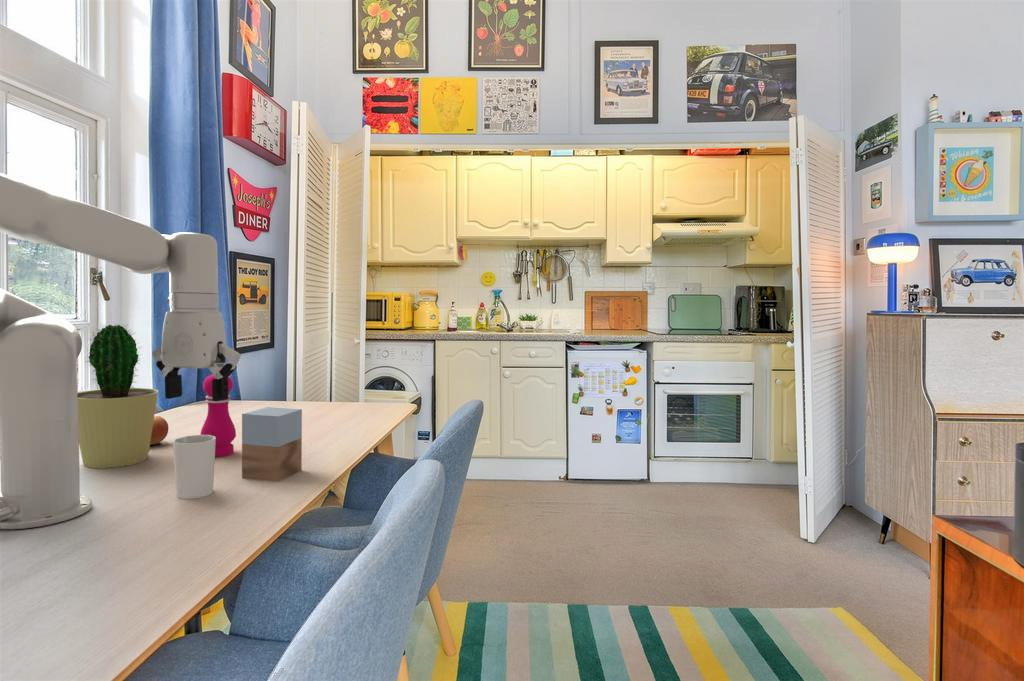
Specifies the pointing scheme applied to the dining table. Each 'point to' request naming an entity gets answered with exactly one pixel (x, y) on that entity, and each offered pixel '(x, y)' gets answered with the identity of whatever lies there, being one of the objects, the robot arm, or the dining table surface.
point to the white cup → (194, 465)
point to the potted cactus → (115, 404)
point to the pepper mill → (219, 420)
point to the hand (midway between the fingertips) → (196, 398)
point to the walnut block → (271, 461)
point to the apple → (159, 430)
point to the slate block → (271, 426)
